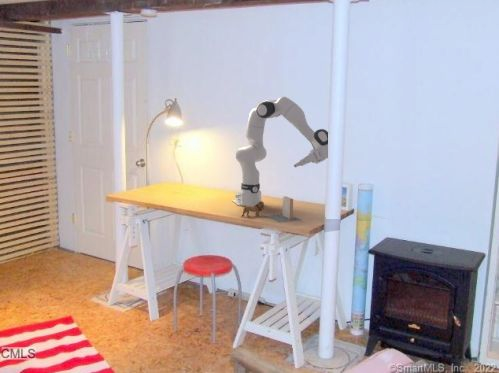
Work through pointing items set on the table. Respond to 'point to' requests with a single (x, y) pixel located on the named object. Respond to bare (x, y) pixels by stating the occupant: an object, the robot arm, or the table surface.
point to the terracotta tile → (288, 207)
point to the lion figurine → (254, 209)
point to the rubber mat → (282, 218)
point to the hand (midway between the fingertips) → (295, 165)
